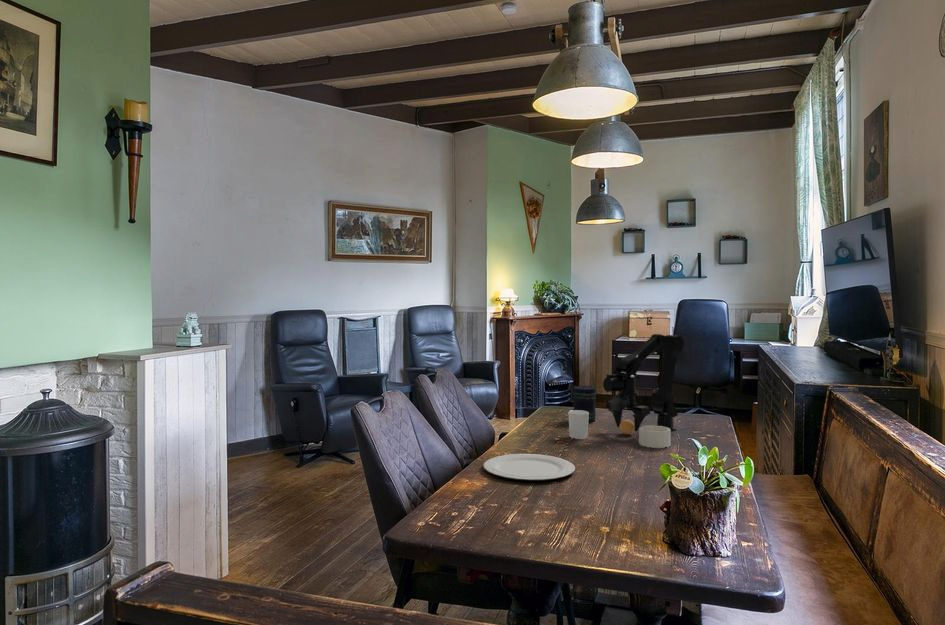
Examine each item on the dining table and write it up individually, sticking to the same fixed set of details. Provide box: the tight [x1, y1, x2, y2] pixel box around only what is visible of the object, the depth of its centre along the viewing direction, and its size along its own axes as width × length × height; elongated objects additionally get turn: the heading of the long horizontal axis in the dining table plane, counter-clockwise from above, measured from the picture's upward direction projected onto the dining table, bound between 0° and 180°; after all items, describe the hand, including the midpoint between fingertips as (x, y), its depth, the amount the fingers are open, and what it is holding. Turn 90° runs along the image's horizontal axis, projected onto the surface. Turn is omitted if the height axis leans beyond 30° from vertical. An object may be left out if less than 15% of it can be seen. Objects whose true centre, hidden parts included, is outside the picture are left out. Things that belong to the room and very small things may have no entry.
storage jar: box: [572, 385, 597, 424], centre depth 276 cm, size 10×10×15 cm
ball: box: [618, 418, 635, 436], centre depth 250 cm, size 6×6×6 cm
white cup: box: [568, 410, 589, 440], centre depth 245 cm, size 8×8×10 cm
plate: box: [483, 453, 576, 482], centre depth 199 cm, size 29×29×2 cm
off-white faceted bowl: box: [638, 424, 672, 449], centre depth 234 cm, size 11×11×6 cm
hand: (627, 429), depth 251 cm, fingers open, 9 cm apart
